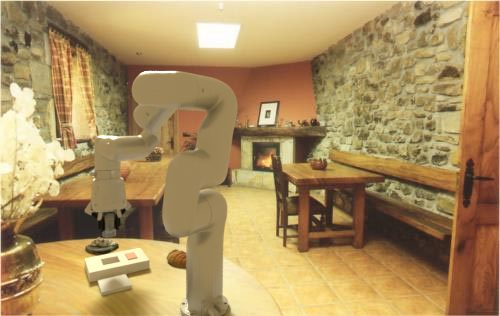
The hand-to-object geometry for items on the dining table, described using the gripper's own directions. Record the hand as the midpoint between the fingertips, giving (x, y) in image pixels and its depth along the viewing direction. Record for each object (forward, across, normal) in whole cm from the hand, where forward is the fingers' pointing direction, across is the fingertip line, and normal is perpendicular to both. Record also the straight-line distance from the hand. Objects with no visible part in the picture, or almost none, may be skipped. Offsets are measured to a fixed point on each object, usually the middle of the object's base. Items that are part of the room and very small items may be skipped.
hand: (109, 229), depth 103 cm
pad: (+13, -1, -12) cm, 18 cm away
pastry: (+14, +22, -6) cm, 26 cm away
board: (+13, +2, 0) cm, 14 cm away
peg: (+2, 0, 0) cm, 2 cm away
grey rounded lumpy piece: (+14, 0, +19) cm, 24 cm away
